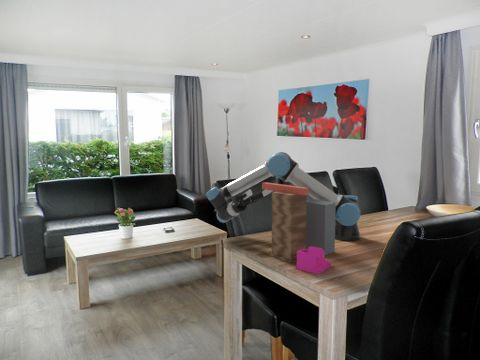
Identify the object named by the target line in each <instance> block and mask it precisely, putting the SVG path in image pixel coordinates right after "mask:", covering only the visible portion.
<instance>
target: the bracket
mask: <svg viewBox="0 0 480 360" xmlns="http://www.w3.org/2000/svg"><path fill="white" fill-rule="evenodd" d="M324 255H325V252H324V250H323V248H319V247H313V246H310V247H308V249H301V250H299V251H297V261H296V269H297V270H301V271H304V272H305V271H306V272H308V273H314V274H317V275H320V274H321V273H323V272H325V270H327V269H329V268H330V267H332V263H331V261H329V260H327V259H326V258H325V256H326V255H325V256H324Z"/></svg>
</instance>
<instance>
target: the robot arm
mask: <svg viewBox="0 0 480 360" xmlns="http://www.w3.org/2000/svg"><path fill="white" fill-rule="evenodd" d="M270 177H273V178H274V177H277V178H279V179H280V180H282V182H284V183H287V182H289V183H291V184H292V185H293V186H298V187H305V188H309V195H308V196H309V197H310V198H311V199H312V200H321V201H327V202H334V203H336V210H335V240H339V241H349V242H350V241H357V240H360V239H361V232H360V229H359V226H358V221H359V220H360V218H361V209H360V208H359V206H358V204H359V197H358V196H357V195H344V194H337V193H335V191H334V192H333V191H332V190H331V189H330V188H328V187H327V186H326V185H324V184H322V183H321V182H320V181H318V180H317V179H316V178H314V177H313V176H311V175H310V174H309V173H307V172H305V171H304V170H303V169H301V168H300V167H299V163H298V162H297V161H295V160H294V159H292V157H291V156H290V155H289V154H288V153H287V152H283V151H281V152H275V153H274V154H272V155H270V157H269V159H268V160H266V161H265V162H264V164H262V165H260V166H258V167H257V168H255V169H254V170H251V171H249V172H247V173H246V174H244V175H242V176H240V177H238V178H237V179H235V180H233V181H231V182H229V183H228V184H226V185H225V186H223V187H220V188H218V186H214V187H211V189H209V190H208V191H207V192H206V193H205V196H206V197H207V199H208V201H209V202H210V204H211V205H212V206H213V207H214V209H215V211H216V219H217V220H218V221H219V223H222V224H224V223H226V222H229V221H231V220H232V219H234V218H235V217H238V215H239V214H241V213H243V212H244V211H246V210H247V208H248V207H247V206H250V204H251V205H253V204H255V203H256V202H259V201H260V200H263V199H265V198H268V195H270V194H272V192H274V191H271V190H264V189H263V190H262V191H261V192H260V193H258V194H255V195H253V191H252V190H251V189H249V188H251V187H253V186H255V185H257V184H259V183H260V182H261V183H262V182H263V181H264V180H267V179H268V178H270ZM247 189H248V190H247ZM244 191H245V192H244ZM243 192H244V193H243ZM240 193H242V194H240ZM238 194H240V195H239V196H237V195H238ZM233 197H235V198H234V199H233V200H232V201H231V202H228V201H227V200H229V199H231V198H233Z"/></svg>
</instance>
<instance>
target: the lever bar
mask: <svg viewBox="0 0 480 360" xmlns="http://www.w3.org/2000/svg"><path fill="white" fill-rule="evenodd" d="M261 184H262V185H261V190H263V191H264V190H271V191H273V192H277V191H278V192H284V193H291V194H298V195H307V196H309V188H305V187H298V186H295V185H290V184H283V183H282V184H281V183H273V182H266V181H265V182H261Z"/></svg>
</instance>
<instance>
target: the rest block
mask: <svg viewBox="0 0 480 360" xmlns="http://www.w3.org/2000/svg"><path fill="white" fill-rule="evenodd" d="M335 210H336V203H334V202H327V201H321V200H315V199H312V200H306V249H308V247H310V246H313V247H319V248H323V250H324V252H325V255H324V257H325V256H327V255H331V254H332V253H333V254H334V253H335V249H336V247H335V246H336V245H335V244H336V243H335V242H336V239H335Z"/></svg>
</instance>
